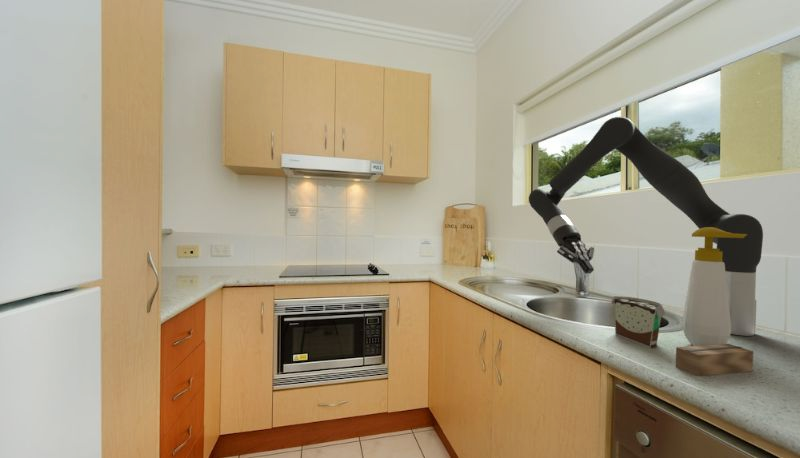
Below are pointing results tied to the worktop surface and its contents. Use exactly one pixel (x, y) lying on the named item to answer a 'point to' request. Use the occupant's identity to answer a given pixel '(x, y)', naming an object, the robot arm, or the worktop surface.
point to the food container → (637, 319)
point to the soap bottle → (708, 293)
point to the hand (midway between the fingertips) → (590, 271)
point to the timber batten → (714, 359)
